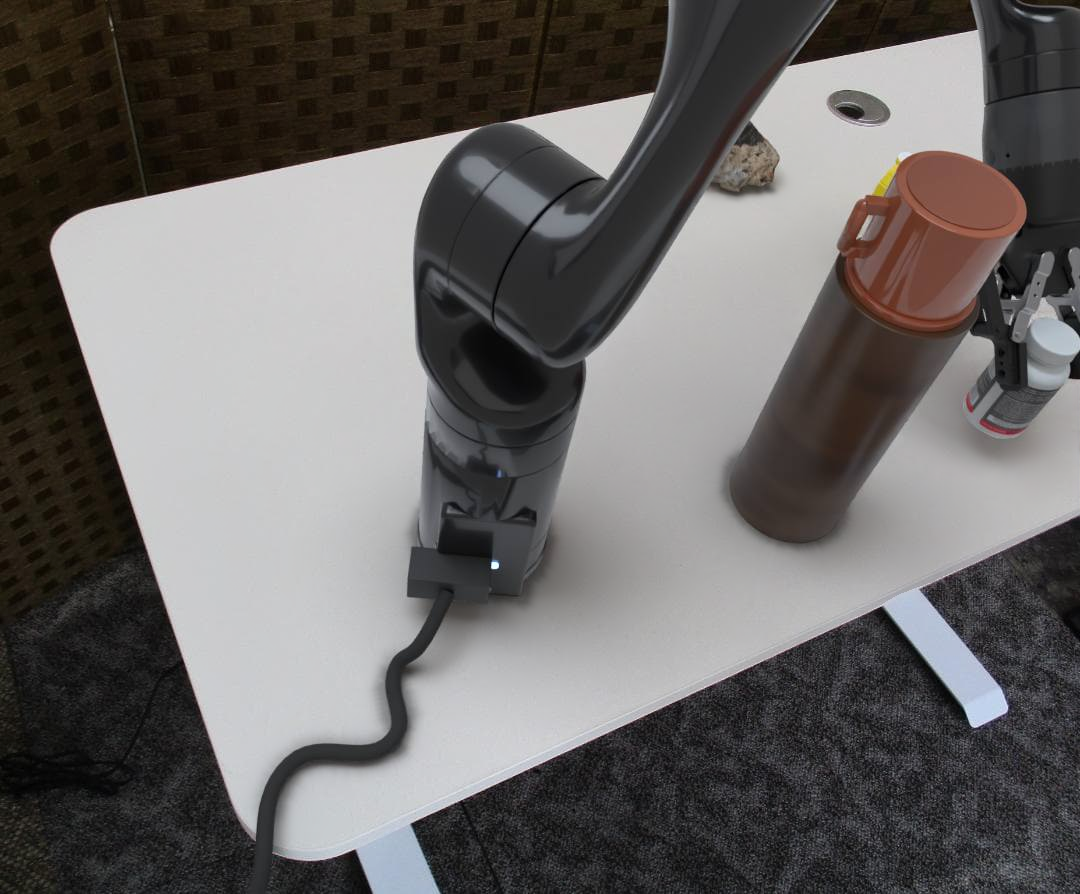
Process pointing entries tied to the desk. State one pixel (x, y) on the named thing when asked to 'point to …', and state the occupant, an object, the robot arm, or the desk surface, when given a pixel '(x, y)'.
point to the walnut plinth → (834, 412)
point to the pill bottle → (1046, 375)
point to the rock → (748, 161)
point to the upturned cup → (930, 240)
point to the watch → (889, 175)
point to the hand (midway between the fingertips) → (1044, 383)
